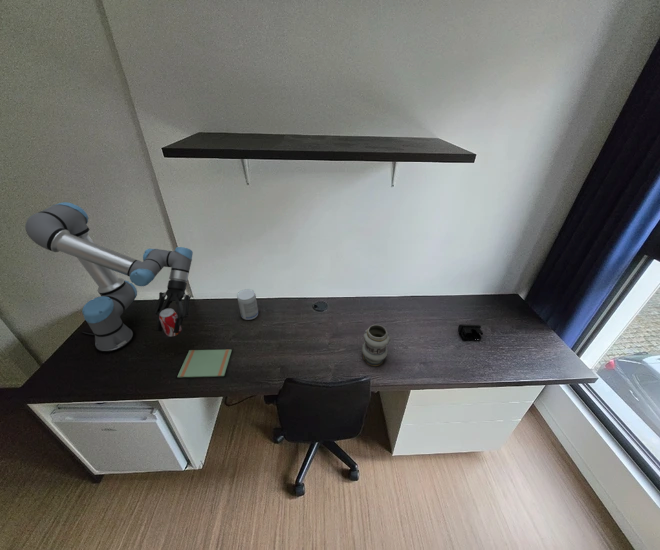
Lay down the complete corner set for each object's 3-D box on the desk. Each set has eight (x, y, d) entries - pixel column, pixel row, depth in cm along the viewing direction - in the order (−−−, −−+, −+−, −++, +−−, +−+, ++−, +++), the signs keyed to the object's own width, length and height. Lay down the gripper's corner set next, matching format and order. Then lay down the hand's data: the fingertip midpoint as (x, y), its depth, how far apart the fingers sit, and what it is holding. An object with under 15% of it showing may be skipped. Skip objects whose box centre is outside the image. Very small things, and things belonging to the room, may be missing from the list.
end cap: (474, 331, 156) (478, 322, 152) (480, 341, 150) (484, 331, 146) (456, 331, 155) (459, 321, 152) (461, 341, 150) (465, 331, 146)
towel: (177, 377, 126) (177, 376, 126) (189, 351, 139) (189, 350, 138) (224, 376, 127) (223, 375, 127) (232, 350, 140) (231, 349, 140)
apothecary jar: (355, 355, 140) (358, 328, 130) (373, 344, 146) (378, 317, 136) (372, 372, 132) (377, 344, 122) (391, 360, 138) (397, 333, 128)
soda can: (178, 338, 129) (171, 318, 123) (162, 337, 129) (154, 317, 123) (185, 327, 135) (178, 307, 129) (170, 326, 135) (162, 306, 129)
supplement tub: (261, 311, 164) (258, 290, 156) (253, 322, 156) (250, 301, 148) (246, 308, 166) (242, 287, 158) (237, 318, 158) (233, 297, 150)
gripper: (203, 284, 135) (193, 334, 130) (162, 280, 136) (151, 329, 132) (194, 281, 127) (184, 334, 123) (151, 277, 129) (140, 329, 124)
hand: (167, 332), depth 127 cm, fingers closed on soda can, 7 cm apart
